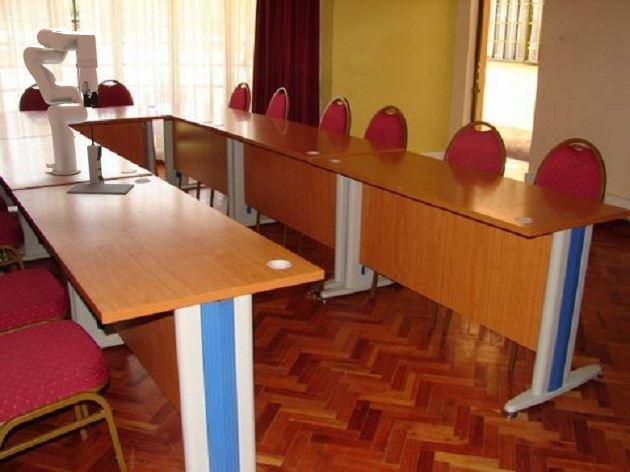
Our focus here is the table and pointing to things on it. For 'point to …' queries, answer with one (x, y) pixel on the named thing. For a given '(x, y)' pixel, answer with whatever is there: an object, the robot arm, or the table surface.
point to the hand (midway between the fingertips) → (91, 105)
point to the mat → (101, 188)
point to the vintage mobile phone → (95, 162)
